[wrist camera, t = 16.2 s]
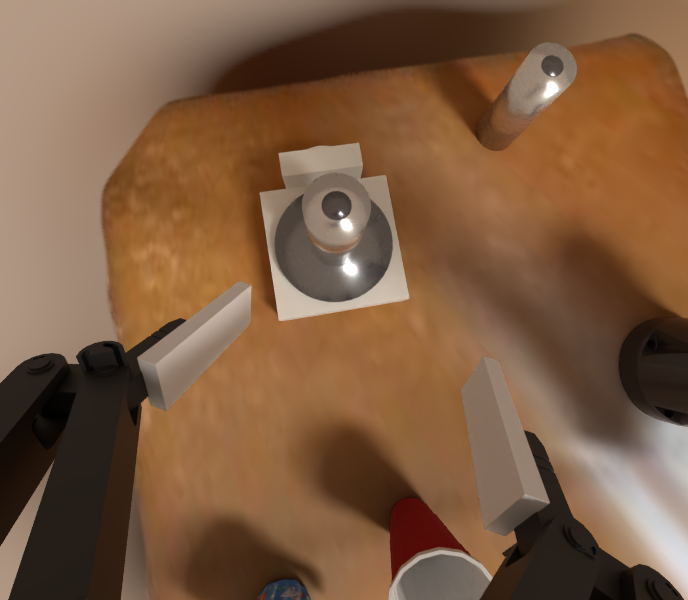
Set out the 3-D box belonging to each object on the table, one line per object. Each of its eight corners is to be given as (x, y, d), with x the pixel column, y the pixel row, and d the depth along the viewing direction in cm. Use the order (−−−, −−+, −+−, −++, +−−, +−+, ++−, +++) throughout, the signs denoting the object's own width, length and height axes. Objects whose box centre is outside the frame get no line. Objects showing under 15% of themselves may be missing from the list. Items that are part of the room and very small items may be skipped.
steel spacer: (509, 112, 43) (571, 39, 32) (517, 148, 42) (583, 86, 31) (472, 116, 43) (522, 44, 32) (480, 153, 42) (534, 92, 31)
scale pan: (380, 182, 37) (381, 178, 36) (400, 292, 35) (402, 291, 34) (268, 198, 36) (266, 194, 35) (285, 311, 35) (284, 311, 34)
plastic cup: (353, 526, 37) (363, 624, 25) (404, 461, 38) (438, 525, 26) (414, 581, 36) (455, 707, 24) (464, 514, 37) (526, 604, 25)
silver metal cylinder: (353, 217, 35) (364, 167, 24) (362, 262, 35) (377, 233, 23) (307, 224, 35) (296, 177, 24) (315, 270, 34) (307, 244, 23)
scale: (376, 166, 41) (385, 134, 34) (401, 301, 40) (416, 296, 33) (263, 182, 40) (248, 152, 33) (284, 320, 38) (274, 320, 31)
